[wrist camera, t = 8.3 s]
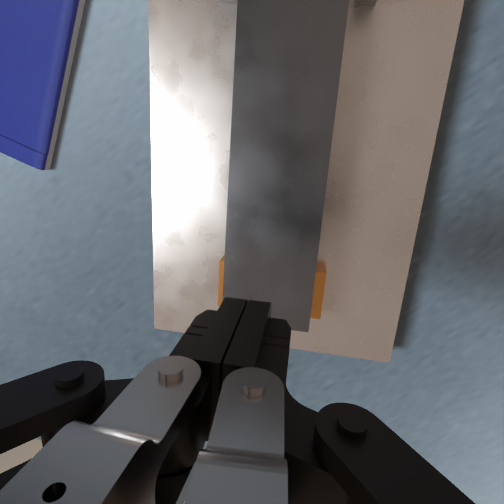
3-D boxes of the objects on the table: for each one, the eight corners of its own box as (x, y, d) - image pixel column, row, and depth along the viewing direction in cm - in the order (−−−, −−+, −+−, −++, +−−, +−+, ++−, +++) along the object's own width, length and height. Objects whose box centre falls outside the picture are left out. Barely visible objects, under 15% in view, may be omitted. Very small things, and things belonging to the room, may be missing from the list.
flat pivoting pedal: (246, -56, 17) (239, -81, 15) (354, -57, 16) (359, -83, 14) (226, 310, 22) (219, 323, 20) (308, 321, 21) (308, 335, 19)
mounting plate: (162, -70, 20) (115, -139, 15) (466, -76, 17) (524, -159, 13) (165, 315, 27) (134, 351, 22) (383, 346, 24) (400, 393, 20)
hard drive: (-47, -89, 20) (-66, 123, 24) (79, -34, 20) (39, 170, 24) (-22, -73, 22) (-44, 124, 26) (96, -22, 21) (55, 169, 25)
